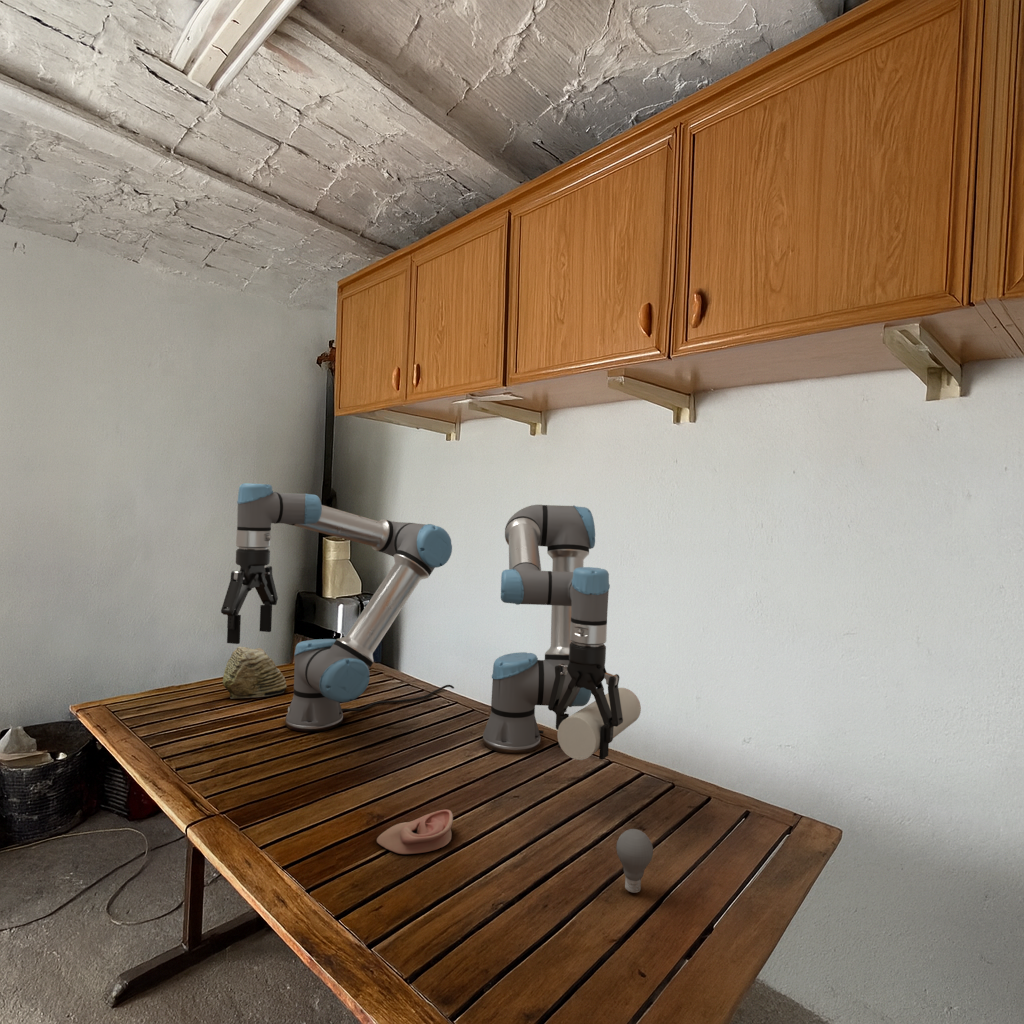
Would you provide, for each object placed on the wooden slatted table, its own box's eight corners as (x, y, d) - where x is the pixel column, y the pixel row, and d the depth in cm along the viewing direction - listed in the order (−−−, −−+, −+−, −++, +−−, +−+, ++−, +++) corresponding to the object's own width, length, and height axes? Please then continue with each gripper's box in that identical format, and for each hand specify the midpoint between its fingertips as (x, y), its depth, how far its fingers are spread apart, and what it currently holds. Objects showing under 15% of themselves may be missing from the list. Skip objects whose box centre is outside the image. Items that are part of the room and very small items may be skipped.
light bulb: (610, 879, 108) (613, 822, 108) (644, 879, 109) (647, 822, 109) (619, 902, 102) (622, 840, 102) (655, 901, 103) (658, 840, 103)
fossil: (218, 695, 195) (220, 647, 195) (278, 685, 208) (279, 640, 207) (228, 703, 189) (230, 653, 188) (289, 692, 201) (290, 645, 201)
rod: (605, 719, 153) (607, 684, 153) (639, 727, 148) (641, 691, 148) (556, 754, 130) (558, 712, 130) (594, 765, 126) (597, 722, 126)
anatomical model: (370, 827, 114) (394, 798, 126) (369, 849, 114) (393, 818, 126) (440, 838, 112) (458, 808, 123) (439, 860, 112) (458, 828, 123)
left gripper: (237, 553, 138) (234, 650, 138) (293, 545, 162) (290, 628, 163) (205, 551, 139) (202, 647, 139) (266, 544, 164) (263, 625, 164)
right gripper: (534, 637, 133) (529, 744, 134) (629, 654, 122) (624, 771, 122) (551, 632, 140) (546, 734, 140) (643, 648, 128) (638, 759, 128)
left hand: (250, 637), depth 151 cm, fingers open, 13 cm apart
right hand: (582, 751), depth 131 cm, fingers closed on rod, 9 cm apart
